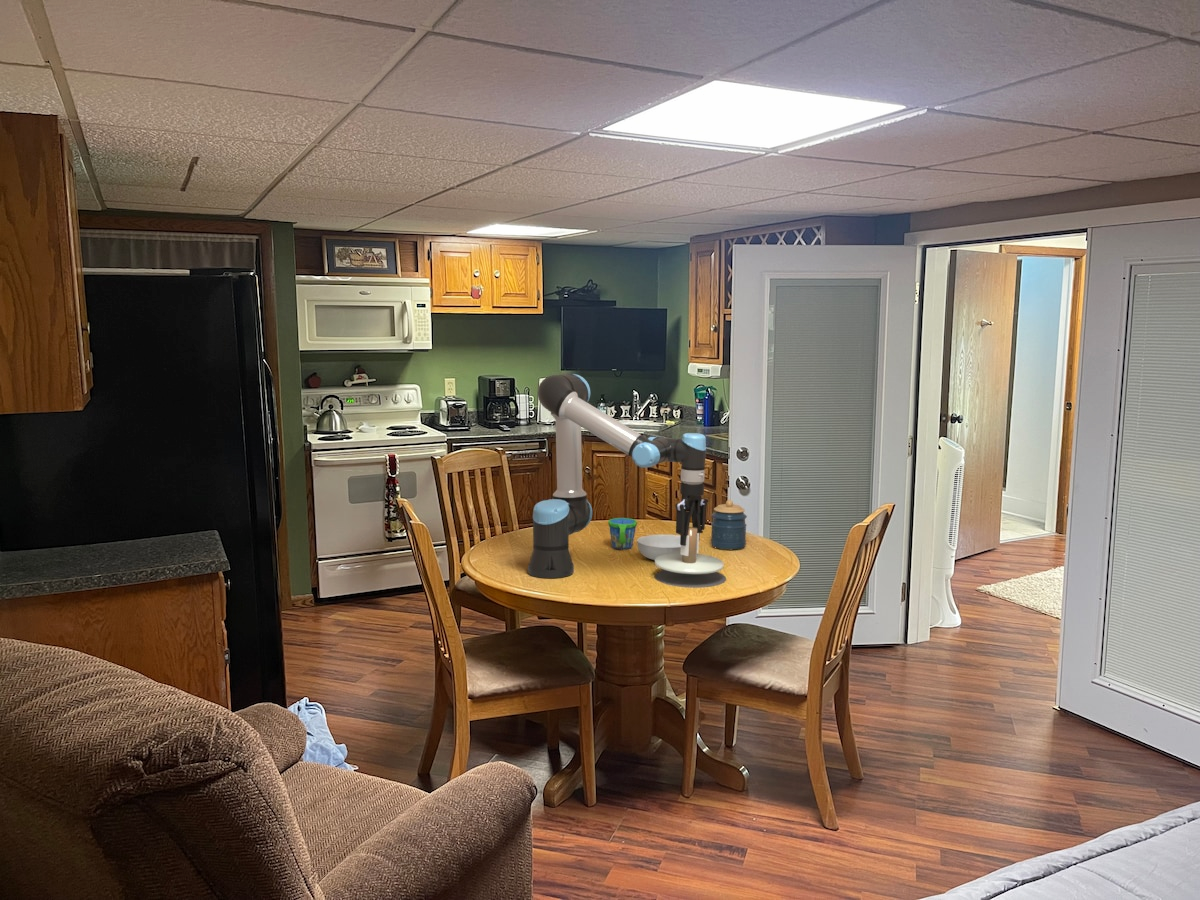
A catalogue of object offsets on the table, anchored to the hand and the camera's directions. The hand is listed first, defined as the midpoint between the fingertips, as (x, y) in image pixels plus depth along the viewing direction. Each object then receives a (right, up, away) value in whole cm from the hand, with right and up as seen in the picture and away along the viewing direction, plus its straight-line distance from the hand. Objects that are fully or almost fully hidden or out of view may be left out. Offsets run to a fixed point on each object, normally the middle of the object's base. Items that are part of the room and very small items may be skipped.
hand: (689, 553), depth 284 cm
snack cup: (-21, -3, +42) cm, 47 cm away
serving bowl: (-6, -5, +26) cm, 27 cm away
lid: (0, -4, 0) cm, 4 cm away
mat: (0, -8, +1) cm, 8 cm away
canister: (+19, -3, +45) cm, 49 cm away
